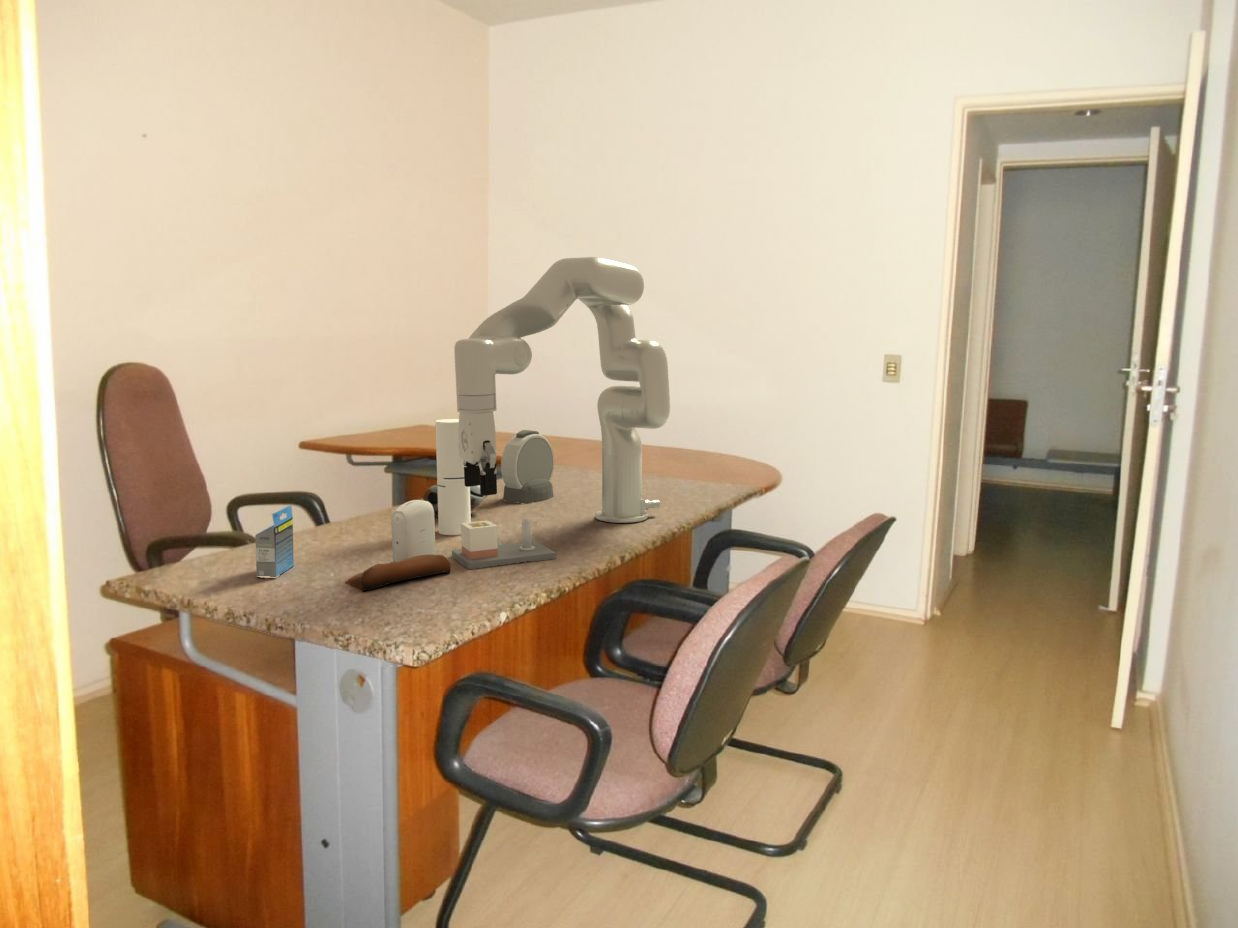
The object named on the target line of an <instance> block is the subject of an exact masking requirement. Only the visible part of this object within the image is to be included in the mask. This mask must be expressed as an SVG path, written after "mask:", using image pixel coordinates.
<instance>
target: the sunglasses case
mask: <svg viewBox="0 0 1238 928" xmlns="http://www.w3.org/2000/svg"><path fill="white" fill-rule="evenodd" d="M442 573H446V574H448V575H449V574H450V573H451V563H450V561H449V559H448V558H447V557H446V556H444V555H442V554H435V555H420V556H415V557H411V558H407V559H404V560H401V561H398V562H396V561H393V560H392V561H390V562H386V563H385V562H384V563H376V564H374V565H372V566H370V567H369V568H367V569H366V570H364V571H363V572H361V573H358V574H355V575H354V576H352V577H350V578H348V579H347V580H345V581H344V584H345V585H349V586H350V587H352V588H354V589H356V590H358V591H360V592H361V593H363V592H364V591H370V590H373V589H376V588H380V587H384V586H386V585H389V584H393V583H396V582H399V581H402V582H403V581H406V580H412V579H416V578H419V577H427V576H432V575H436V574H442Z"/></svg>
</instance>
